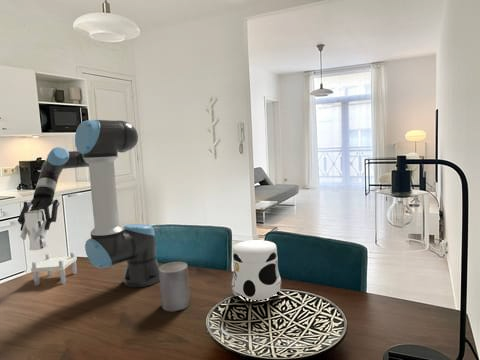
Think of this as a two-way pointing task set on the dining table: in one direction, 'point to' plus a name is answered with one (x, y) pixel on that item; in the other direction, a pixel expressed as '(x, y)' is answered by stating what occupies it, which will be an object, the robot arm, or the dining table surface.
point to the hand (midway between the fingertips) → (32, 237)
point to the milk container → (255, 270)
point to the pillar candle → (174, 286)
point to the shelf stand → (54, 266)
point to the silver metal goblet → (35, 229)
